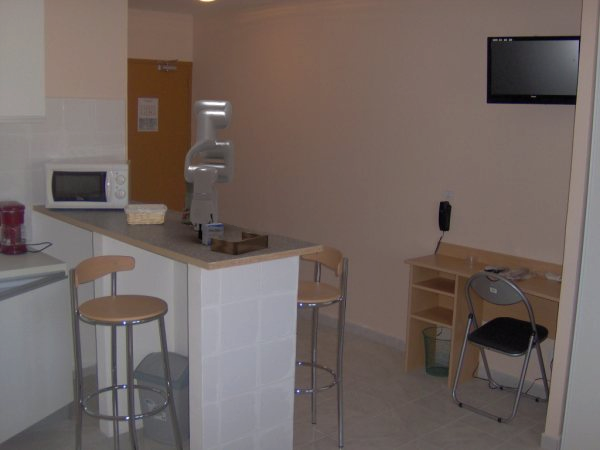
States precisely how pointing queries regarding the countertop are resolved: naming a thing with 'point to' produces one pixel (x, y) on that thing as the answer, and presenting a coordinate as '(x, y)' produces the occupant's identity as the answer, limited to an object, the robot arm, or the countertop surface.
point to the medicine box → (211, 232)
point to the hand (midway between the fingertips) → (202, 239)
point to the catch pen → (240, 243)
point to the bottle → (188, 203)
